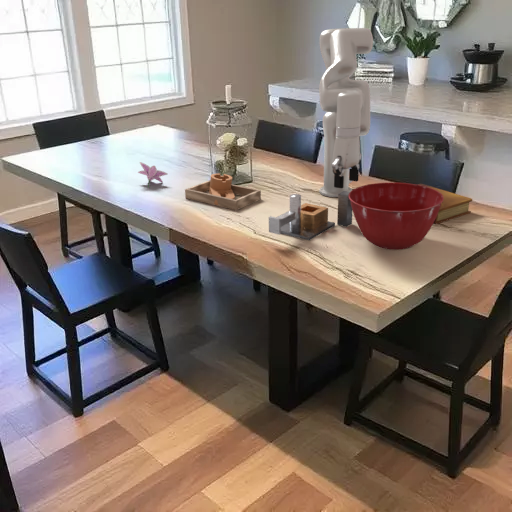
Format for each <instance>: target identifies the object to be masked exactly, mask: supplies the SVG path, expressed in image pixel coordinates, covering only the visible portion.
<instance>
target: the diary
mask: <svg viewBox="0 0 512 512" xmlns="http://www.w3.org/2000/svg"><path fill="white" fill-rule="evenodd" d="M417 185H421V186H425V187H429V188H432V189H434V190H437V191H438V192H440V193H441V194H442V195H443V197H444V200H443V202H442V203H441V206H440V209H439V212H438V214H437V217H436V219H435V221H434V223H433V225H434V224H435V225H438V224H441V223H444V222H448V221H451V220H453V219H455V218H459V217H462V216H465V215H469V214H470V213H472V211H470V210H469V207H470V202H473V198H471V197H467V196H465V195H461V194H458V193H455V192H450V191H448V190H444V189H441V188H437V187H434V186H431V185H428V184H423V183H419V184H417Z"/></svg>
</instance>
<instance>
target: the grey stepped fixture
mask: <svg viewBox="0 0 512 512" xmlns="http://www.w3.org/2000/svg"><path fill="white" fill-rule="evenodd" d="M328 218H329V208H328V207H326V206H322V205H316V204H312V203H307V202H305V203H303V204H302V195H301V194H297V193H292V194H289V210H287V211H286V212H284V213H282V214H280V215H278V216H272V215H270V216H268V232H269V233H271V234H275V235H277V236H278V235H281V234H282V235H285V236H290V237H293V238H297V239H301V240H304V241H309V242H310V241H311V240H313V239H314V238H316V237H318V236H320V235H321V234H323V233H324V232H327V231H328V230H330V229H332V228H334V227H335V226H336V223H335V222H333V221H329V219H328Z"/></svg>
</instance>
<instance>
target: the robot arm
mask: <svg viewBox="0 0 512 512" xmlns="http://www.w3.org/2000/svg"><path fill="white" fill-rule="evenodd" d="M373 46H374V37H373V34H372V31H371V30H370V29H369V28H367V27H351V28H350V27H349V28H346V27H345V28H344V27H343V28H330V29H329V28H328V29H325V30H323V31H322V32H321V33H320V35H319V51H320V53H321V57H322V60H323V62H324V66H325V71H324V73H323V74H322V76H321V78H320V82H319V87H318V88H319V89H318V90H319V92H318V93H319V104H320V109H322V111H323V112H325V113H324V115H323V116H322V130H323V139H324V142H323V143H324V149H323V152H324V153H323V156H324V157H323V160H324V161H323V186H321V187H320V188H319V194H320V195H322V196H325V197H330V198H338V194H339V193H341V192H343V191H347V192H351V191H352V190H353V189H352V188H351V187H349V185H350V184H351V183H352V182H356V183H357V182H358V181H359V173H360V172H359V171H360V168H361V167H360V165H361V161H362V160H361V159H362V155H363V154H362V153H361V146H360V145H361V143H360V142H361V141H360V138H361V136H362V137H363V136H364V137H365V136H366V135H368V134H369V133H370V128H371V89H370V85H369V82H367V81H366V80H364V79H350V76H351V75H353V74H354V73H355V71H356V70H357V67H358V63H357V62H358V61H357V55H367V54H370V53H371V52H372V49H373Z"/></svg>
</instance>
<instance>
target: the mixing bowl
mask: <svg viewBox="0 0 512 512" xmlns="http://www.w3.org/2000/svg"><path fill="white" fill-rule="evenodd" d="M349 199H350V202H351V206H352V215H353V216H354V218H355V221H356V224H357V226H358V229H359V231H360V232H361V235H362V236H363V237H364V239H366V240H367V241H368V242H369V243H370V244H372V245H374V246H375V247H377V248H380V249H383V250H392V251H400V250H407V249H410V248H413V247H414V246H416V245H418V244H419V243H420V242H421V241H423V240H424V239H425V237H426V236H427V234H428V233H429V231H430V230H431V229H432V227H433V225H434V221H435V219H436V217H437V214H438V212H439V209H440V206H441V203H442V202H443V200H444V197H443V195H442V194H441V193H440V192H438V191H437V190H434V189H432V188H429V187H425V186H421V185H418V184H413V183H408V182H407V183H406V182H377V183H370V184H365V185H361V186H358V187H356V188H354V189H352V191H351V192H350V193H349Z"/></svg>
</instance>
